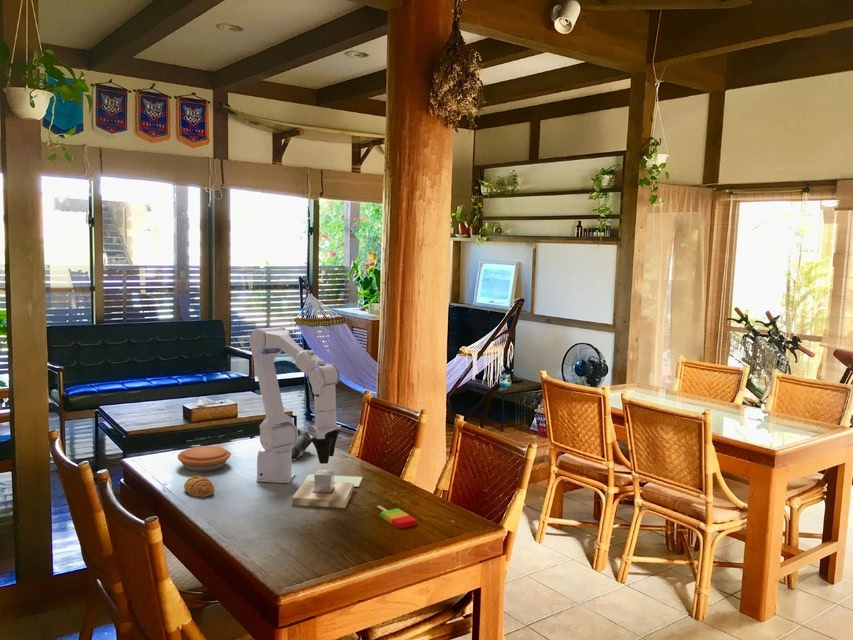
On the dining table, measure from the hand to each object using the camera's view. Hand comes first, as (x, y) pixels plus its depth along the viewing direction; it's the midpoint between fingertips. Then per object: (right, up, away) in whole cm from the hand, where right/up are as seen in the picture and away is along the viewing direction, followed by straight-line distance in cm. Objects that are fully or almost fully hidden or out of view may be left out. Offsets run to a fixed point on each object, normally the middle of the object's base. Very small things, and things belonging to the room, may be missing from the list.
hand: (326, 459), depth 192 cm
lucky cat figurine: (-18, -6, +38) cm, 43 cm away
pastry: (-35, -10, +2) cm, 36 cm away
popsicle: (+18, -13, -11) cm, 25 cm away
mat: (0, -9, +14) cm, 16 cm away
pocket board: (-1, -10, +1) cm, 10 cm away
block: (-1, -10, +1) cm, 10 cm away
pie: (-40, -7, +24) cm, 47 cm away
